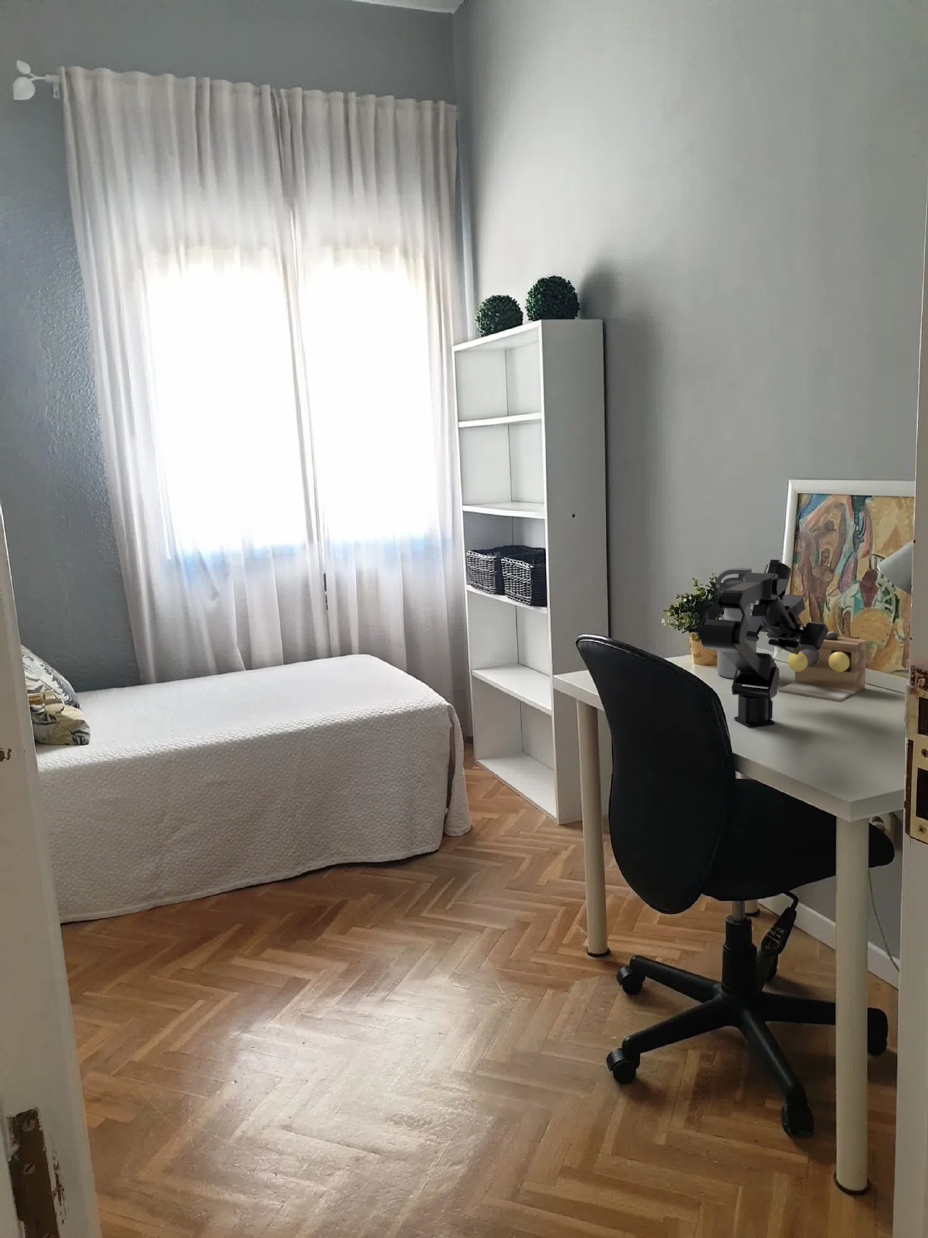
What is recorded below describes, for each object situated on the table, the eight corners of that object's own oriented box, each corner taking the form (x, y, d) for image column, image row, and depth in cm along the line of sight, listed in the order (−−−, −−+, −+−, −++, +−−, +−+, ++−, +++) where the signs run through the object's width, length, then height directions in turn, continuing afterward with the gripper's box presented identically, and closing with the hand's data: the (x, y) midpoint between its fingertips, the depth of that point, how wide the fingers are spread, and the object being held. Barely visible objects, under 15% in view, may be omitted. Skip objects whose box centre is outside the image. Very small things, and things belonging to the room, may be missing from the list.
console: (839, 701, 223) (840, 644, 220) (778, 691, 233) (779, 636, 231) (864, 688, 233) (866, 633, 230) (805, 679, 243) (807, 626, 241)
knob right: (847, 673, 227) (848, 653, 226) (828, 670, 231) (828, 651, 230) (861, 667, 233) (862, 647, 232) (842, 664, 236) (842, 645, 235)
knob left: (806, 673, 229) (806, 653, 229) (787, 670, 233) (787, 650, 232) (820, 666, 235) (821, 647, 234) (801, 663, 238) (802, 645, 237)
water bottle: (714, 678, 248) (715, 571, 242) (716, 669, 257) (717, 566, 251) (755, 680, 245) (757, 571, 239) (756, 670, 254) (757, 566, 248)
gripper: (825, 588, 209) (848, 630, 219) (750, 580, 223) (775, 620, 232) (805, 628, 206) (830, 669, 215) (730, 618, 220) (756, 657, 229)
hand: (797, 652), depth 223 cm, fingers closed
